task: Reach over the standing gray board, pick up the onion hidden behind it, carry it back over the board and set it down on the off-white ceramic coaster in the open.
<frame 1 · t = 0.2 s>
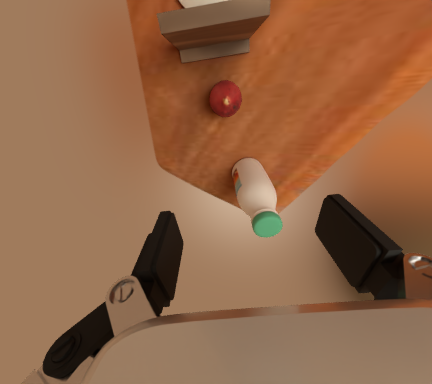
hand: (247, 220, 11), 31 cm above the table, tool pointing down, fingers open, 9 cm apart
milk bottle: (246, 170, 43), on the table
onion: (224, 97, 34), on the table
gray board: (213, 39, 29), on the table
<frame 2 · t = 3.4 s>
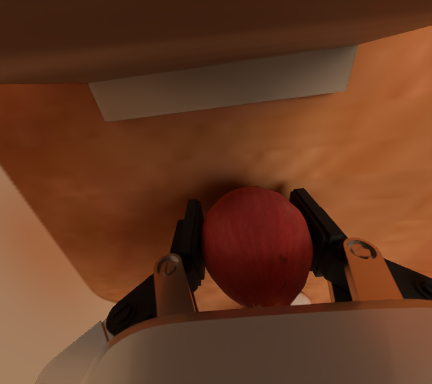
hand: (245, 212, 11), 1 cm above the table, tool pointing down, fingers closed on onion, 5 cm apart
onion: (242, 198, 13), on the table, touching gripper
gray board: (215, 44, 8), on the table
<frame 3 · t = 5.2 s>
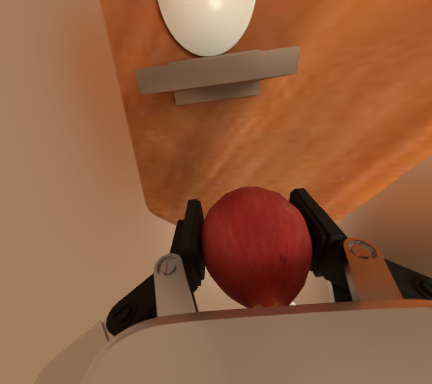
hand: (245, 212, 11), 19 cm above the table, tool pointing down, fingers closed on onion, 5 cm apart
onion: (242, 199, 13), point 18 cm above the table, touching gripper
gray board: (215, 79, 23), on the table
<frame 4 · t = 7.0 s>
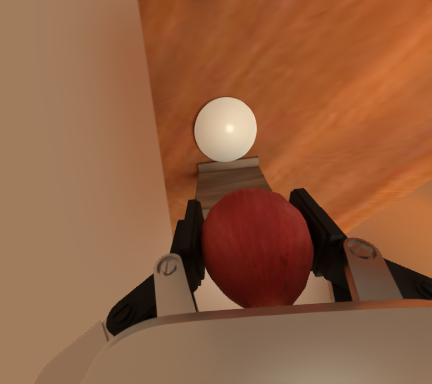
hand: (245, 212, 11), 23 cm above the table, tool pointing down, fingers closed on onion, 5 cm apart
coaster: (225, 131, 31), on the table
onion: (242, 199, 13), point 21 cm above the table, touching gripper
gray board: (228, 171, 35), on the table
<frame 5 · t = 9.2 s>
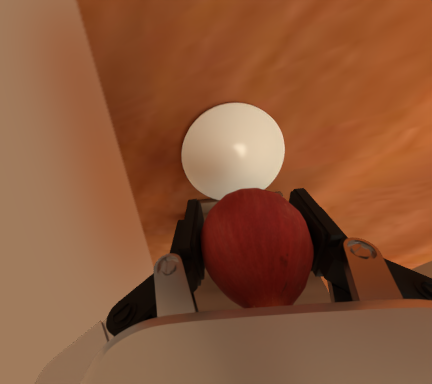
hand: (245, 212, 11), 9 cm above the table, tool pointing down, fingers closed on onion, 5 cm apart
coaster: (231, 157, 19), on the table
onion: (242, 199, 13), point 8 cm above the table, touching gripper
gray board: (235, 210, 23), on the table
when the fingers open (4 cm above the table, at t = 10.9 s): onion drops 1 cm, resting on coaster.
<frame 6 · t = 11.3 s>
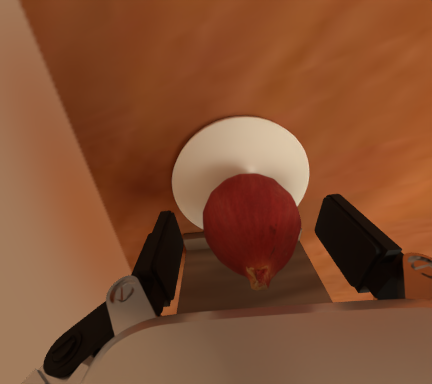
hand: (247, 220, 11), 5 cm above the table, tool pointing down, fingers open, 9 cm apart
coaster: (238, 183, 15), on the table
onion: (241, 187, 14), point 1 cm above the table, touching coaster
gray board: (241, 244, 19), on the table
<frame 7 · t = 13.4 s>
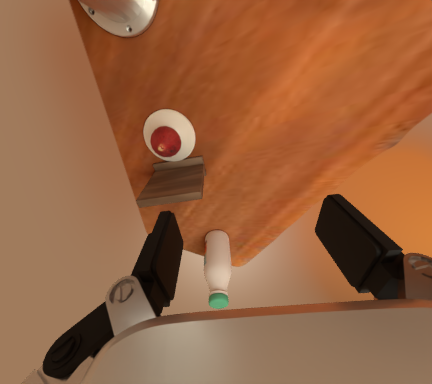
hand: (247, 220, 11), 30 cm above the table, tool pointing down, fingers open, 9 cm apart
coaster: (170, 136, 37), on the table
milk bottle: (216, 236, 55), on the table
onion: (170, 136, 36), point 1 cm above the table, touching coaster
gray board: (180, 168, 41), on the table
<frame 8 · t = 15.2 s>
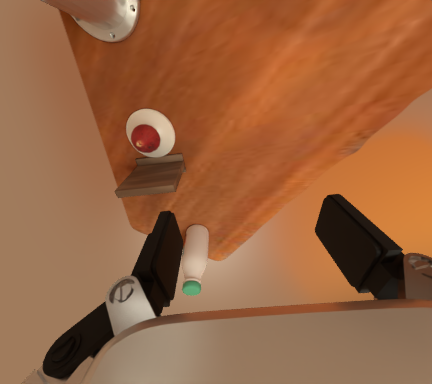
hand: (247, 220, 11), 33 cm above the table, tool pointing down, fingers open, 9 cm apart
coaster: (152, 134, 40), on the table
milk bottle: (197, 231, 58), on the table
onion: (151, 134, 39), point 1 cm above the table, touching coaster
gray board: (161, 164, 44), on the table
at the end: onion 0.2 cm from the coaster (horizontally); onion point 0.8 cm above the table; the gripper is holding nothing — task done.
